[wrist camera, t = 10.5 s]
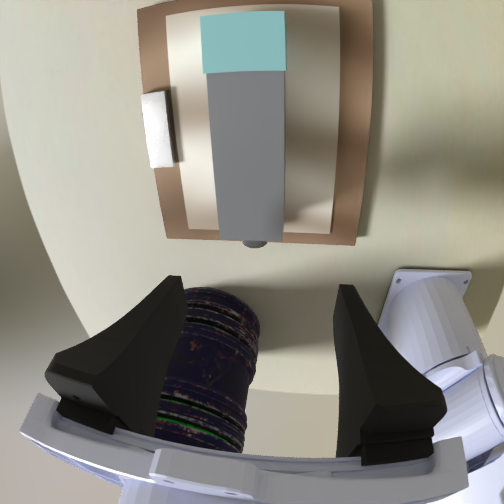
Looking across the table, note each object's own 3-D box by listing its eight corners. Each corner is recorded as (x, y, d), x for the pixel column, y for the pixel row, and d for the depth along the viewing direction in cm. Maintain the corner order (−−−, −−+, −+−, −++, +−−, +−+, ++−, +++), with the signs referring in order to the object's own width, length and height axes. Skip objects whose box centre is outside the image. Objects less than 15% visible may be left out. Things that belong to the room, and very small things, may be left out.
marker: (285, 227, 21) (283, 261, 18) (230, 225, 22) (219, 258, 18) (286, 21, 13) (284, 10, 10) (218, 24, 14) (200, 16, 11)
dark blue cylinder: (162, 338, 32) (117, 459, 20) (164, 274, 27) (93, 425, 14) (249, 362, 33) (227, 490, 21) (273, 303, 27) (252, 471, 15)
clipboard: (353, 238, 22) (356, 252, 21) (171, 231, 24) (163, 244, 22) (368, 0, 12) (375, -5, 11) (144, 11, 14) (131, 8, 13)
